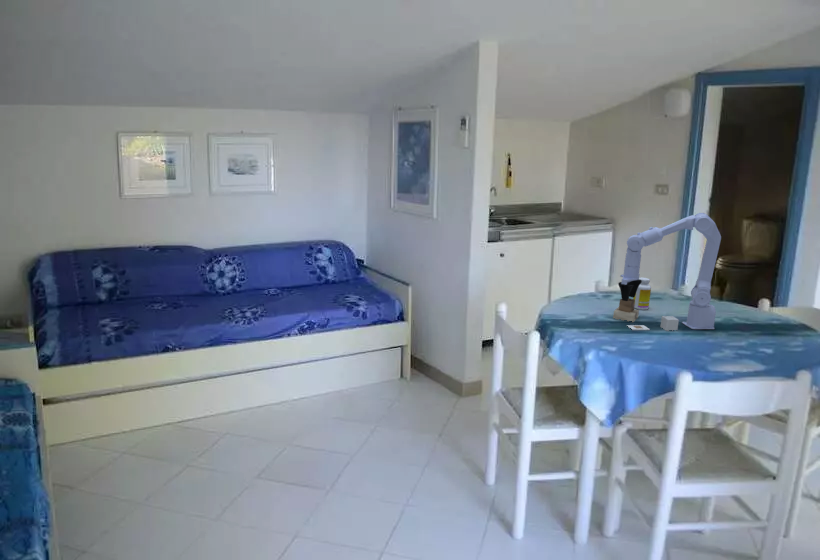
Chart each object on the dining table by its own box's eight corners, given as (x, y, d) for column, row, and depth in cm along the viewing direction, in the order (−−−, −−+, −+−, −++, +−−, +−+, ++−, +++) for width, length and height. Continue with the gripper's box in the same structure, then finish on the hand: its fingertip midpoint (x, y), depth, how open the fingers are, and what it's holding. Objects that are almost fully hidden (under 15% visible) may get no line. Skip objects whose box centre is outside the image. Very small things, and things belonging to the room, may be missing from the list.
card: (643, 325, 256) (643, 325, 256) (649, 330, 251) (649, 329, 251) (626, 325, 255) (626, 324, 255) (632, 330, 250) (632, 329, 250)
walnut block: (622, 308, 268) (624, 297, 267) (633, 310, 265) (635, 299, 264) (618, 310, 265) (619, 299, 264) (629, 312, 262) (630, 301, 261)
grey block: (671, 327, 256) (672, 316, 255) (677, 331, 252) (678, 319, 251) (660, 327, 255) (661, 316, 254) (666, 331, 251) (667, 319, 250)
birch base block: (618, 314, 271) (619, 306, 270) (638, 318, 267) (639, 310, 266) (612, 319, 264) (613, 310, 263) (633, 323, 260) (634, 314, 259)
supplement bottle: (651, 309, 280) (655, 279, 277) (641, 311, 276) (645, 281, 273) (638, 305, 285) (642, 276, 282) (628, 306, 282) (632, 277, 278)
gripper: (628, 261, 268) (625, 293, 272) (615, 266, 257) (611, 300, 260) (646, 264, 264) (642, 296, 267) (633, 269, 253) (629, 303, 256)
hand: (628, 298), depth 264 cm, fingers open, 7 cm apart
